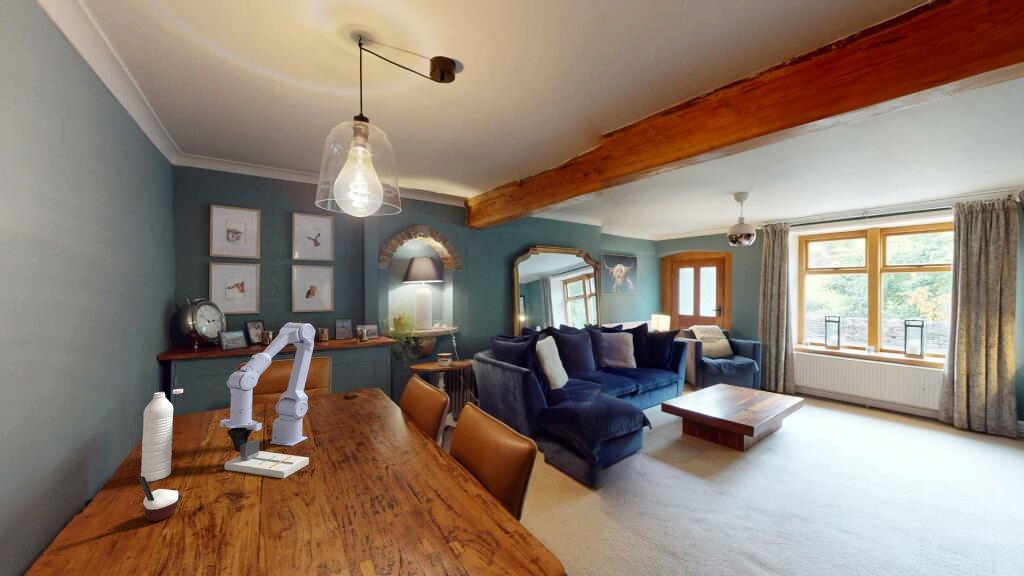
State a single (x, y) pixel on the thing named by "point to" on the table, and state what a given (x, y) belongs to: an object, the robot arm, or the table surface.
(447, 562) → the table surface
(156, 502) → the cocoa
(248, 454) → the fader tab
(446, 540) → the table surface
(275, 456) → the fader console
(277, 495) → the table surface
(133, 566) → the table surface
